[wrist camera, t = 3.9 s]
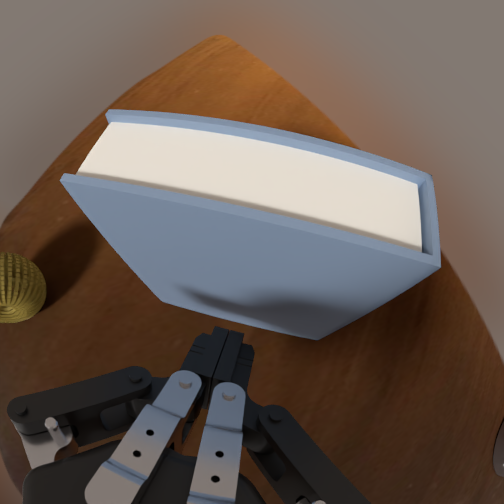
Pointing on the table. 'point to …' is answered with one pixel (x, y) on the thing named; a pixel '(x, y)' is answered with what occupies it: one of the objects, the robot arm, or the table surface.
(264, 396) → the table surface
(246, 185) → the book
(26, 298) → the sculpture
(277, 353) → the table surface
